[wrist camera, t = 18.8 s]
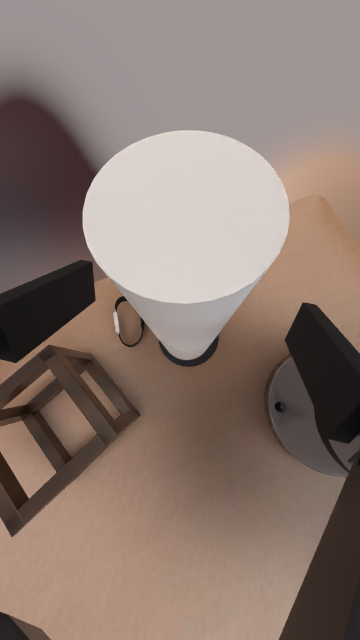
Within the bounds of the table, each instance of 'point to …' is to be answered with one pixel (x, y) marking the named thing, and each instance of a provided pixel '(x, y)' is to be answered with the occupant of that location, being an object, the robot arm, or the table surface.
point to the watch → (118, 323)
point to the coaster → (192, 362)
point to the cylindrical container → (186, 231)
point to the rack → (3, 487)
